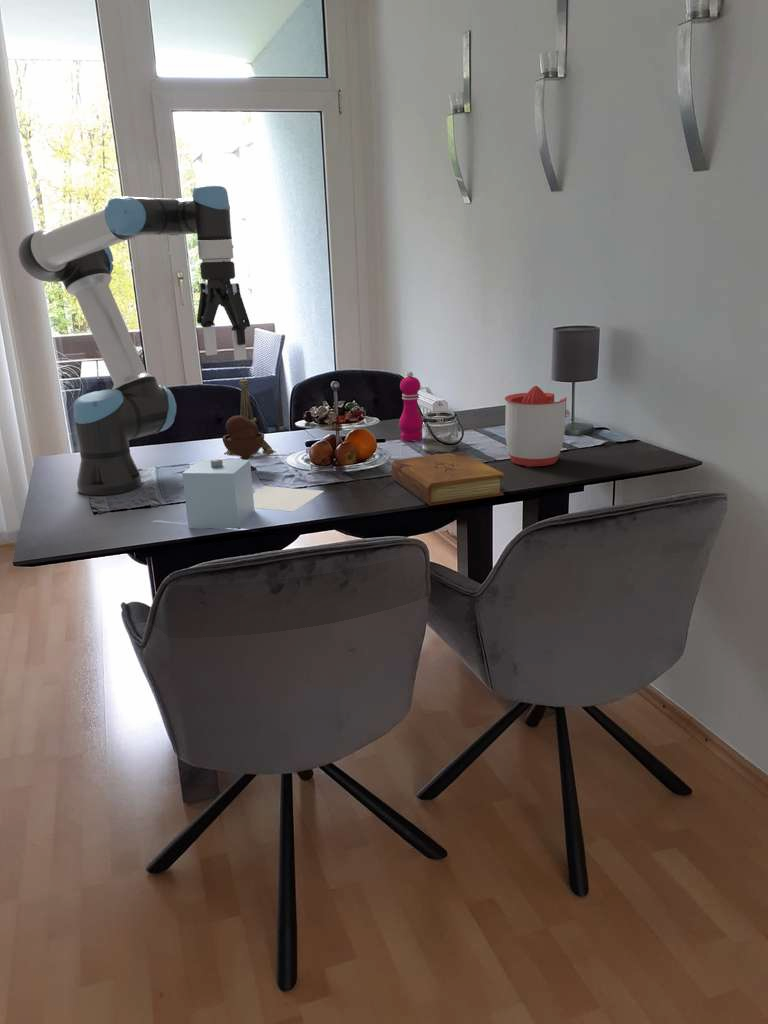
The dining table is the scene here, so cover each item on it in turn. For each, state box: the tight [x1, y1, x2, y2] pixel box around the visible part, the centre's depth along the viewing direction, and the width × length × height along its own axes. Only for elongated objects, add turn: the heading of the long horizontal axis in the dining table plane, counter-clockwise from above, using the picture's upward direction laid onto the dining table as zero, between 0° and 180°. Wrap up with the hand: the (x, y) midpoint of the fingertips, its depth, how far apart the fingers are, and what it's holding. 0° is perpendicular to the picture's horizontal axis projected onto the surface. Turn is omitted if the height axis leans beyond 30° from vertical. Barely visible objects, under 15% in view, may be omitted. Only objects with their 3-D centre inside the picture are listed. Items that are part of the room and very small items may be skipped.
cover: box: [181, 458, 255, 529], centre depth 172 cm, size 11×11×13 cm
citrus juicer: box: [504, 385, 571, 468], centre depth 209 cm, size 16×17×20 cm
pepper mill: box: [398, 371, 424, 442], centre depth 238 cm, size 7×7×20 cm
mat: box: [253, 485, 325, 512], centre depth 187 cm, size 16×16×1 cm
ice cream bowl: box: [222, 415, 265, 472], centre depth 210 cm, size 11×11×15 cm
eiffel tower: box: [223, 365, 277, 459], centre depth 227 cm, size 11×11×25 cm
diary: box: [391, 451, 505, 507], centre depth 191 cm, size 23×19×6 cm
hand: (225, 357), depth 187 cm, fingers open, 13 cm apart
